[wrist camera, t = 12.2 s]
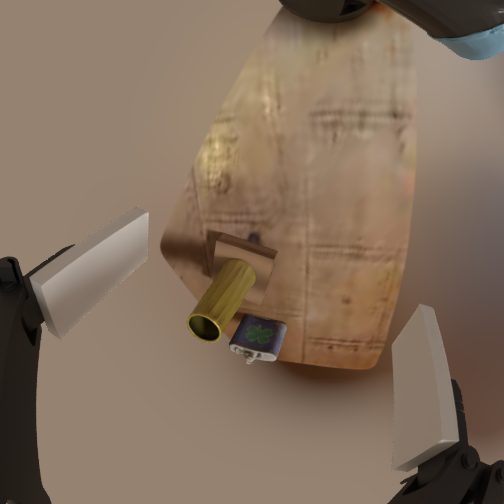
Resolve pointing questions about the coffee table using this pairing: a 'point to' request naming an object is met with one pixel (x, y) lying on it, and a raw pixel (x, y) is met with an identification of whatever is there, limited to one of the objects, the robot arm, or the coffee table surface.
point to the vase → (221, 301)
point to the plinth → (251, 254)
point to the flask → (258, 338)
